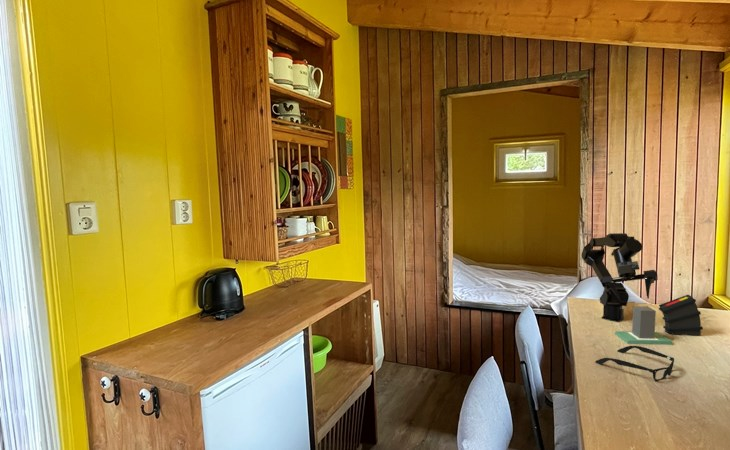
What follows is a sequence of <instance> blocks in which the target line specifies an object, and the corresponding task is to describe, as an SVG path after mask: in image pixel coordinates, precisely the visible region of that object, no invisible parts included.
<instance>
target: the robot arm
mask: <svg viewBox="0 0 730 450" xmlns="http://www.w3.org/2000/svg"><path fill="white" fill-rule="evenodd" d="M604 246H605V247H609V248H614V249H612V251H611V256H613V260H614V262H615V267H616V271H617V274H618V277H613V276H612V275H611V273H610V271H609V270H608V267H606V264H605V262H603V260H604V257H605V254H606V250H605V247H604ZM595 247H596V248H598V247H599V248H600V249H593V248H595ZM642 250H643V244H642V243H641V242H640V241H639V240H638V239H636V238H635V237H634V236H633V235H632V236H629V235H628V234H627V233H626V232H625V233H624V232H623V233H622V232H620V233H618V232H617V233H615V232H614V233H613V232H611V233H608V234H606V235H605V236H602V237H592V238H590V240H589V242H588V243H587V244H586V245H585V246H583V248H582V251H581V259H582V260H583V261H584V263H585V264H586V265H588V266H590V267H591V268H592V270H593V271H594V273H595V274H596V276H597V278H598V280H599V281H600V283H601V285H602V287H603V292H602V294H601V295H600V297H599V303H600V304H601V305H603V312H602V313H603V314H602V316H601V319H604V320H607V321H612V322H618V323H619V322H620V321H622V320H624V314H625V309H624V307H627V305H628V301H629V296H630V295H629V293H628V291H627V289H626V287H625V286H624V284H623V282H630V281H638V280H644V284H645V293H646V298H647V299H650V292H651V291H650V290H651V286H652V284H654V283H655V281H658V277H659V276H658V272H657V271H656V270H654V269H650V270H644V271H643V273H642V274H641V273H640V274H637V272H636V271H637V270H640V265H639V261H638V260H636V261H633V258H634V257H635V256H636V255H637V254H638V253H640V252H641V251H642Z"/></svg>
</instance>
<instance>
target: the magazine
mask: <svg viewBox="0 0 730 450" xmlns="http://www.w3.org/2000/svg"><path fill="white" fill-rule="evenodd" d="M696 302H697V299H696V298H694V297H693V296H692V295H690V294H686V295H682V296H680V297H678V298H675V299H672V300H670V301H667V302H664V303H661V304H659V305H658V306H659V307H658V310H659V311H660V312H662V315H663V316H662V319H663V321H664V325H663V329H664V332H665V333H666V334H667V335H672V336H673V335H676V336H696V337H697V336H699V337H701V336H702V333H701V331H703V330H704V327H703V326H702V325H701V317H700V316H701V315H702V313H701V311H699V309H698V305H697V304H696Z"/></svg>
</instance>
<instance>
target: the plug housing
mask: <svg viewBox="0 0 730 450" xmlns="http://www.w3.org/2000/svg"><path fill="white" fill-rule="evenodd" d="M656 313H657V310H656V309H653V308H651V307H649V306H648V305H647V306H645V305H641V306H638V305H637V306H633V308H632V327H631V328H632V329H631V332H632V334H634V335H635V336H637V337H638V338H643V339H654V335H655V332H656V331H655V330H656V315H657V314H656Z"/></svg>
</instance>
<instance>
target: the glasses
mask: <svg viewBox="0 0 730 450" xmlns="http://www.w3.org/2000/svg"><path fill="white" fill-rule="evenodd" d="M632 349H637V350H639V351H641V352H642V353H645V354H646V353H647V354H650V355H653V356H657V357H660V358H664V359H668V360H669V361H671V362H670V364H669V365H668V366H667V367H660V368H655V369H654V368H653V369H652V368H648V367H646V366H642V365H639V364H637V363H636V364H635V363H633V362H629V361H625V360H621V359H617V358H611V357H601V358H600V359H597V360H595V362H594V363H595V364H598V365H600V366H601V365H604V364H605V363H607V362H609V361H611V362H613V363H615V364H616V365H618V366H622V367H629V368H632V369H637V370H642V371H648V372H650V373H652V378H653V381H655V382H659V381H662V380H665V379H666V378H667V376H671V374H672V372H673V367H674V363H675V358H674V357H672V356H668V355H666V354H663V353H661V352H659V351H656V350H654V349H652V348H651V349H650V348H647V347H645V346H640V345H628V346H623V347H622V348H619V349H618V350H617V353H621V354H625V353H627V352H629V351H630V350H632ZM663 370H664V372H663V376H662V377H661V378H658V379H657V378H656V376H657V373H658V372H659V371H663Z"/></svg>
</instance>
